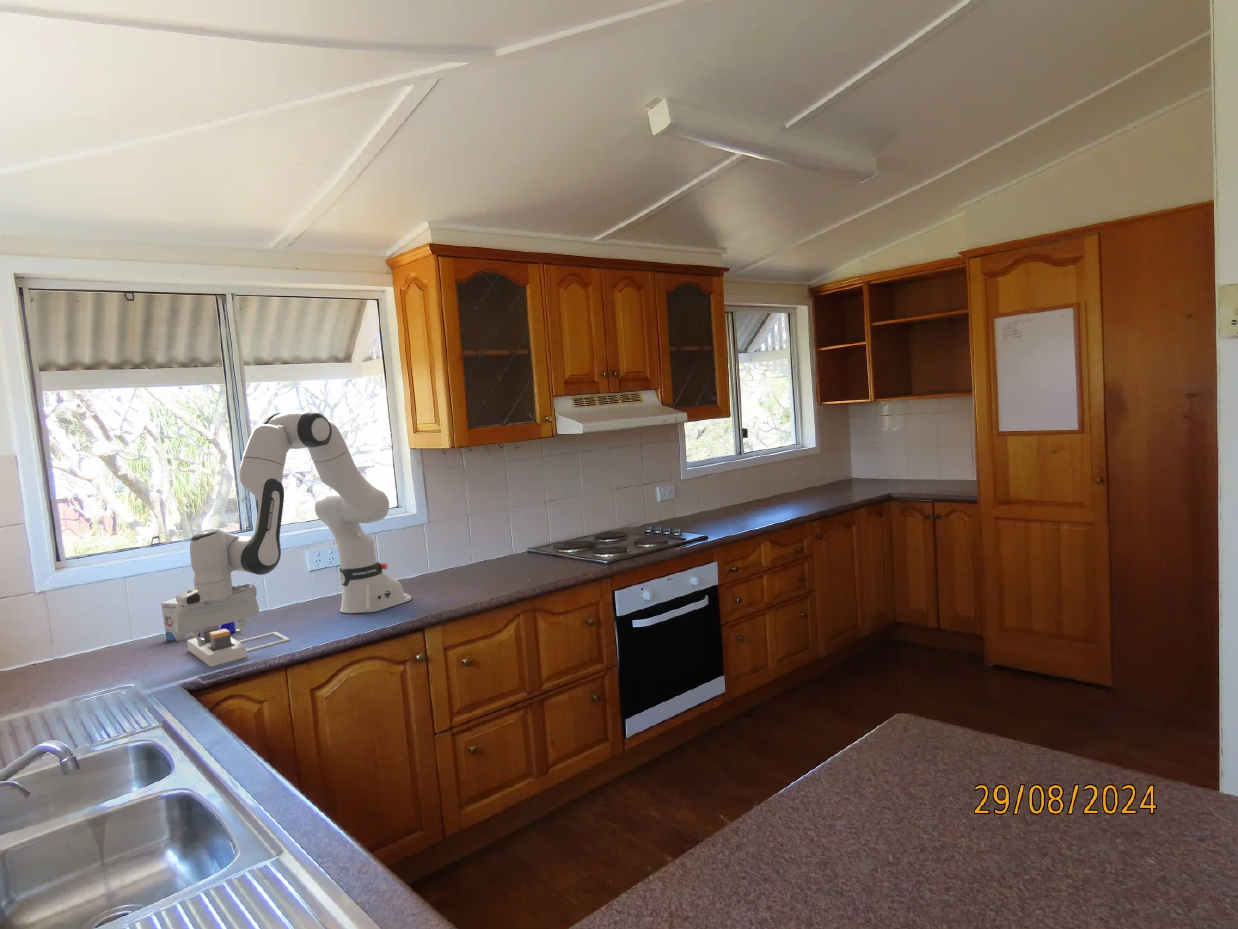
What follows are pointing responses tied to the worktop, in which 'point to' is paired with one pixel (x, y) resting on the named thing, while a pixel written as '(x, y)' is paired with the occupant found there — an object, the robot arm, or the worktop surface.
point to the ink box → (172, 621)
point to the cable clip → (226, 627)
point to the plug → (220, 639)
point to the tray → (266, 644)
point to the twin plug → (205, 633)
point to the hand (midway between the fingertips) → (221, 640)
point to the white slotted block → (217, 652)
